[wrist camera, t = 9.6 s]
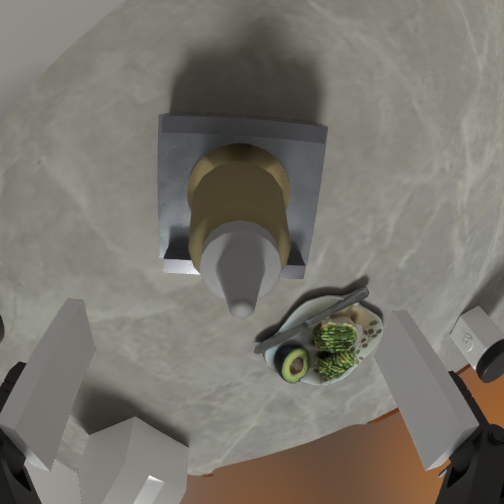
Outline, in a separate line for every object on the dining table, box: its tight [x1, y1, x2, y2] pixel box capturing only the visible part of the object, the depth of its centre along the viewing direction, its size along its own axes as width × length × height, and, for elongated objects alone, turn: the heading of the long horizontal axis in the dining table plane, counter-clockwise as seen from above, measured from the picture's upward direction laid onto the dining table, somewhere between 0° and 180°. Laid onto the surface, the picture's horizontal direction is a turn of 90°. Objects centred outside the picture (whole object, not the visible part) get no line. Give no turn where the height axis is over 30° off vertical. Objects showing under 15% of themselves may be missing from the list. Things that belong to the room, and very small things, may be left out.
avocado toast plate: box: [254, 287, 383, 386], centre depth 44 cm, size 19×18×5 cm
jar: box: [450, 306, 504, 383], centre depth 43 cm, size 9×8×12 cm
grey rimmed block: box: [158, 113, 328, 279], centre depth 32 cm, size 16×15×8 cm
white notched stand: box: [78, 416, 189, 504], centre depth 48 cm, size 19×15×25 cm
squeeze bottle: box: [188, 161, 291, 318], centre depth 23 cm, size 8×8×18 cm
